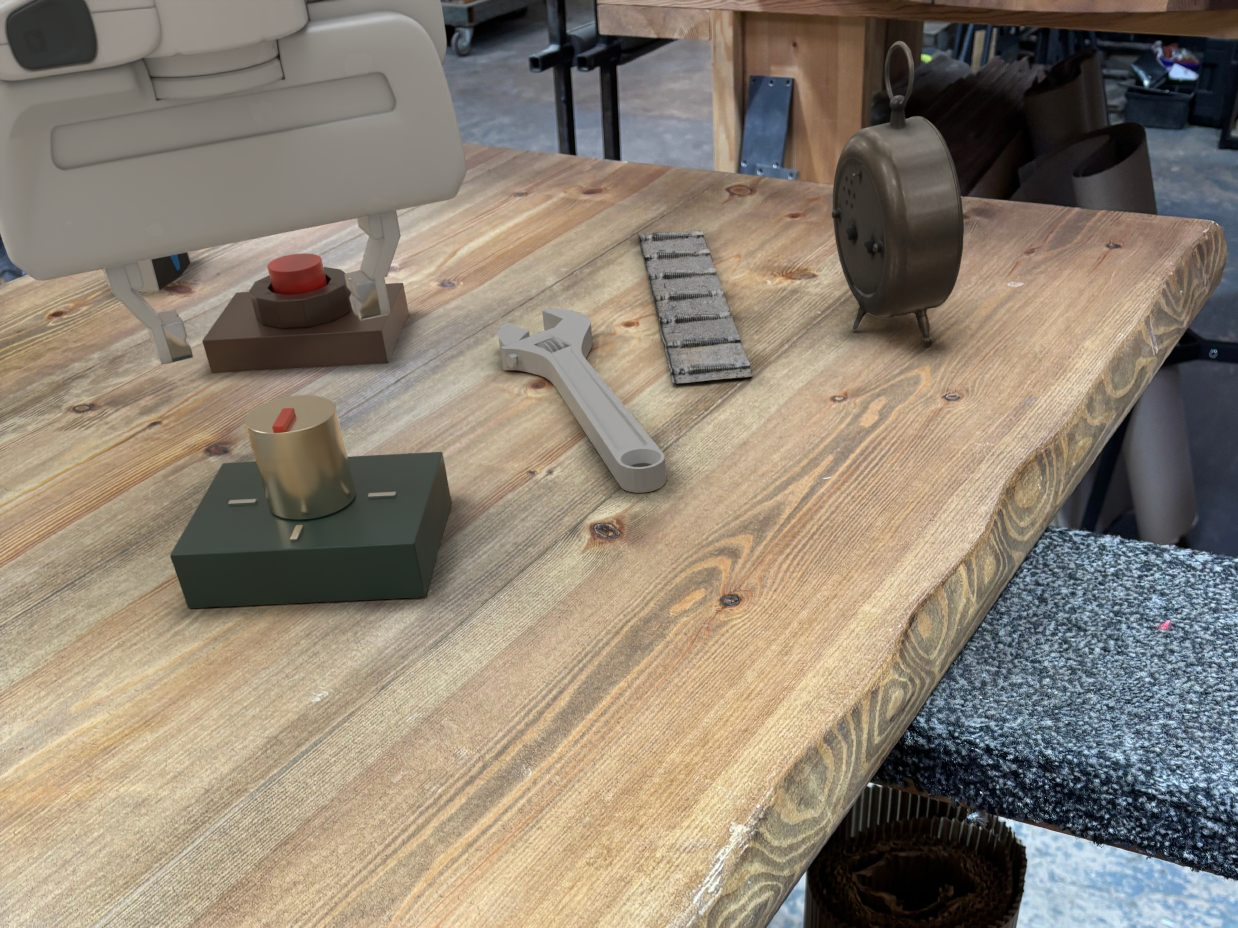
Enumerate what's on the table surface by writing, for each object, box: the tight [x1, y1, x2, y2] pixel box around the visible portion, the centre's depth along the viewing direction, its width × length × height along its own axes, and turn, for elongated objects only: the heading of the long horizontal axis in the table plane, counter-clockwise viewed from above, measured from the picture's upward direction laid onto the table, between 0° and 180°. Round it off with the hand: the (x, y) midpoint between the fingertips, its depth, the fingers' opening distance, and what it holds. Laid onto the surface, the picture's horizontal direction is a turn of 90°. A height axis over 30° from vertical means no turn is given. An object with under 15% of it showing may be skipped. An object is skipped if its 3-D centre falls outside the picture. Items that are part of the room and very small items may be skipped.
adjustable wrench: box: [497, 308, 667, 494], centre depth 81 cm, size 25×6×2 cm, turn 14°
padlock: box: [135, 252, 192, 293], centre depth 99 cm, size 7×4×15 cm, turn 173°
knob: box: [244, 394, 355, 520], centre depth 66 cm, size 4×4×5 cm
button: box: [266, 252, 327, 295], centre depth 89 cm, size 4×4×2 cm
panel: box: [169, 451, 453, 609], centre depth 68 cm, size 12×10×3 cm
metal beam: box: [637, 229, 753, 385], centre depth 93 cm, size 30×1×5 cm
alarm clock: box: [831, 40, 965, 348], centre depth 82 cm, size 11×5×16 cm, turn 17°
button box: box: [201, 266, 410, 374], centre depth 91 cm, size 12×9×4 cm
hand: (275, 335), depth 62 cm, fingers open, 8 cm apart
